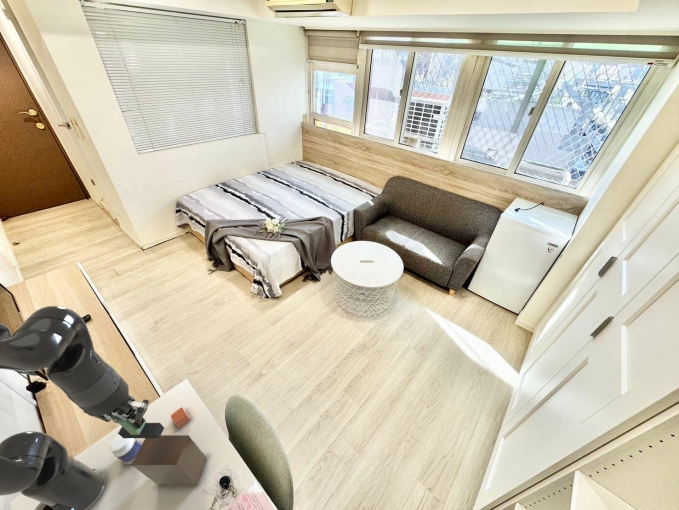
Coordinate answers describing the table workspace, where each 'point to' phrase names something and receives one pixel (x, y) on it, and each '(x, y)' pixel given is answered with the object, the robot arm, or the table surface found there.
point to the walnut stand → (170, 460)
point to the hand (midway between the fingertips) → (135, 424)
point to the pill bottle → (125, 449)
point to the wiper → (140, 430)
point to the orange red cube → (180, 417)
